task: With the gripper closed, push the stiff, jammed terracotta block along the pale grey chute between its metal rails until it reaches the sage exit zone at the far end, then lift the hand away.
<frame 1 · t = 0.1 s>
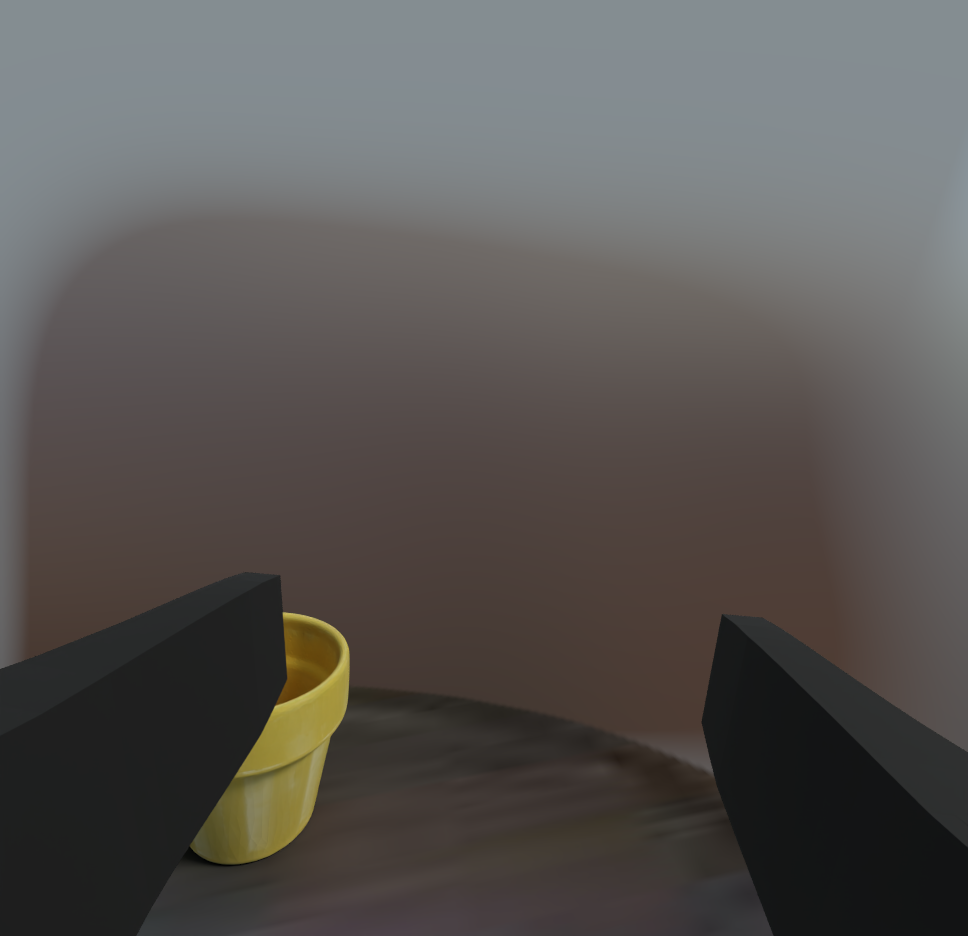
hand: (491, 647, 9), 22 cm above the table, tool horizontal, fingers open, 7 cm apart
plant pot: (254, 814, 32), on the table
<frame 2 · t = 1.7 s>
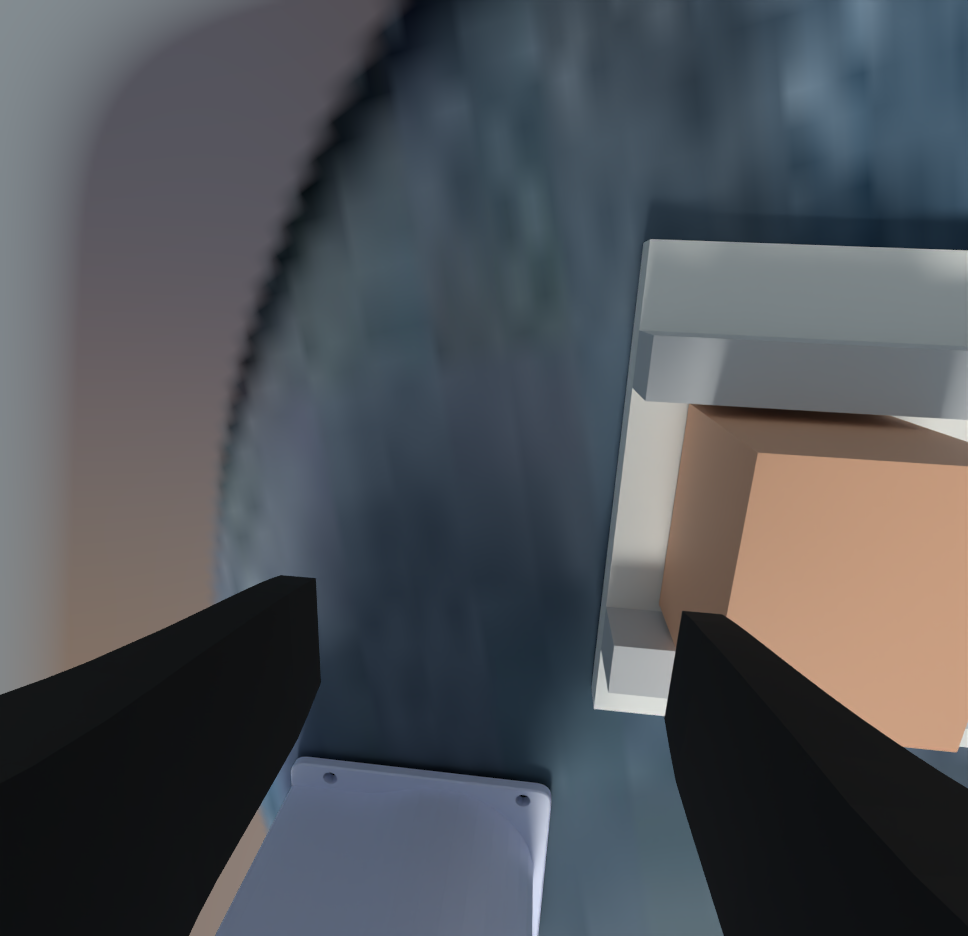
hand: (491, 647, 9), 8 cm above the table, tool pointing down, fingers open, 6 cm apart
block: (805, 555, 13), point 4 cm above the table, slide at 0.0 cm
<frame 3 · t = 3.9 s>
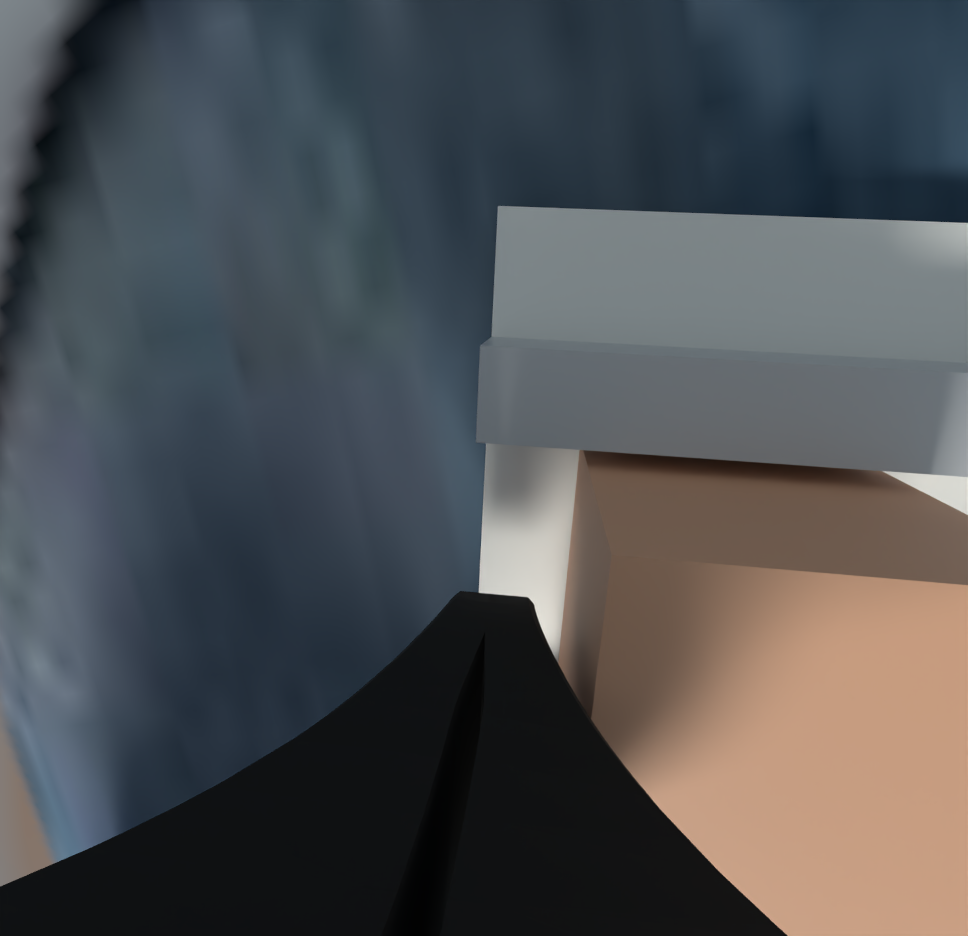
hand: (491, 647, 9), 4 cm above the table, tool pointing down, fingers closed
chute: (955, 592, 12), on the table
block: (731, 672, 9), point 4 cm above the table, slide at 0.3 cm, touching gripper
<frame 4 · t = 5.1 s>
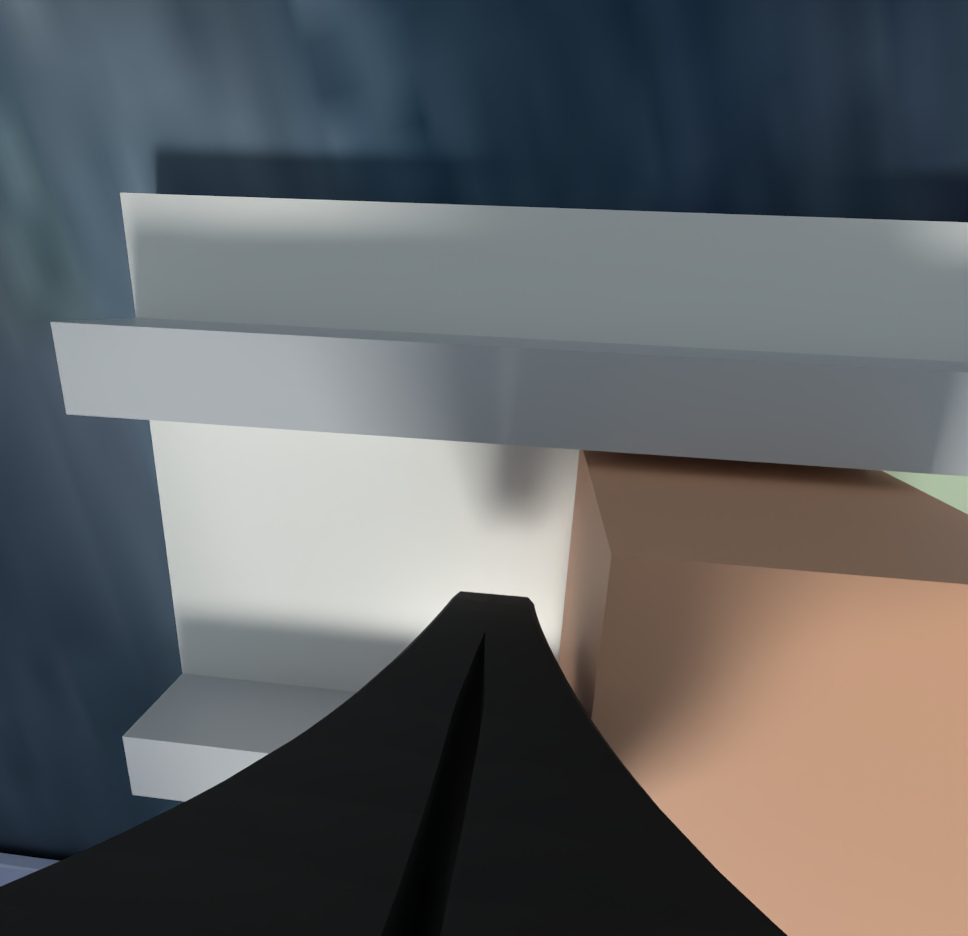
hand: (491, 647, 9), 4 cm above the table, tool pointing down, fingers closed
chute: (624, 563, 12), on the table
block: (731, 672, 9), point 4 cm above the table, slide at 7.2 cm, touching gripper
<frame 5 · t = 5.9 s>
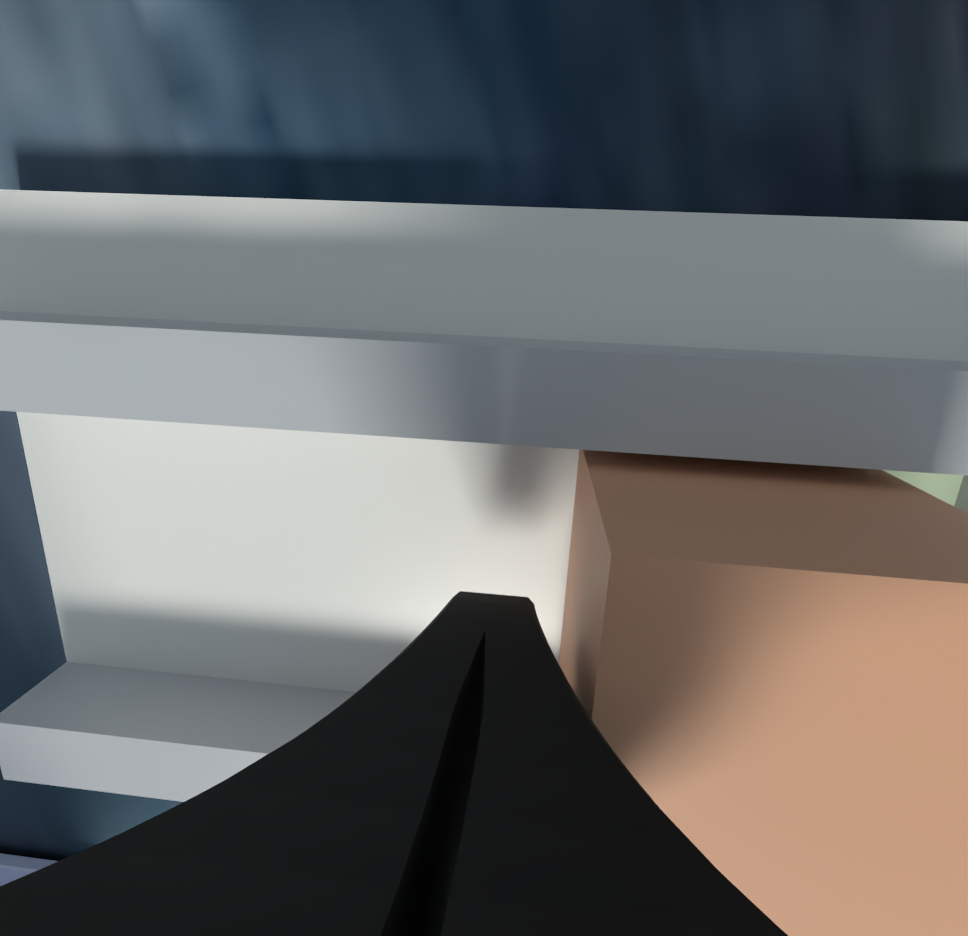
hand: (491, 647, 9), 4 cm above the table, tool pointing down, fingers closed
chute: (492, 552, 13), on the table
block: (732, 671, 9), point 4 cm above the table, slide at 10.1 cm, touching gripper
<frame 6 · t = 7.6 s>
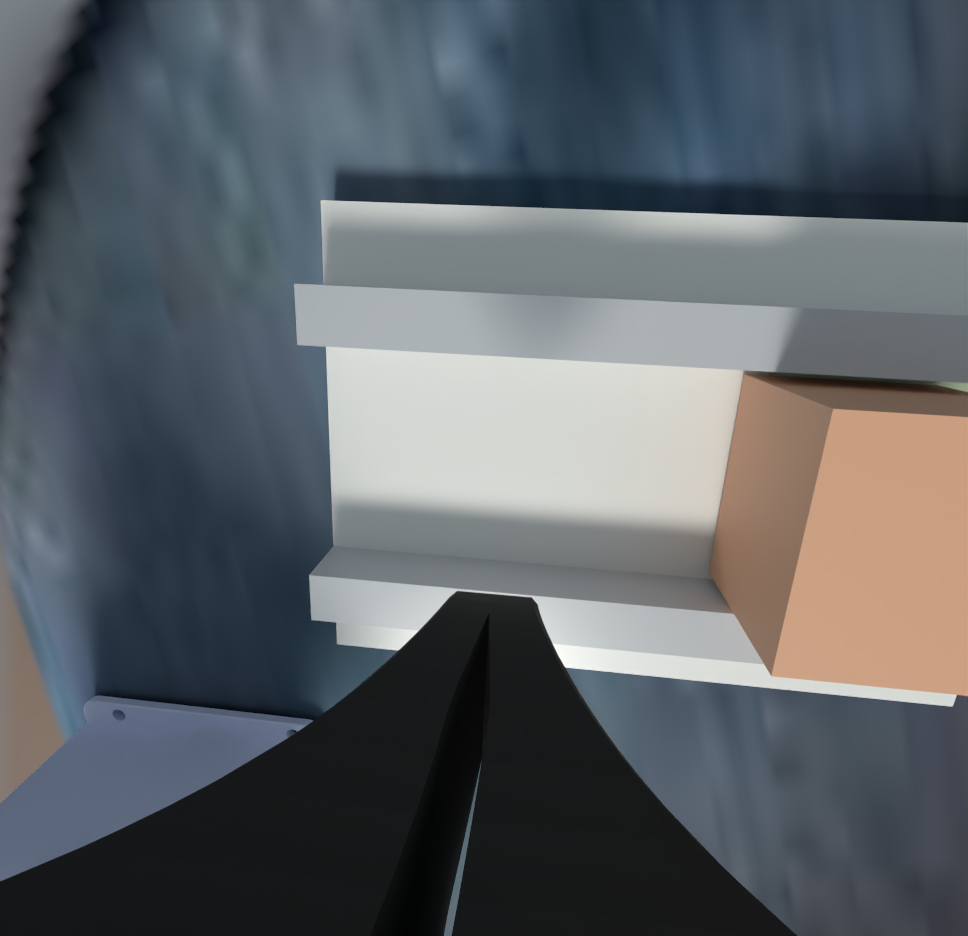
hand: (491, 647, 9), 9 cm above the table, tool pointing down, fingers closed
chute: (654, 462, 18), on the table
block: (862, 517, 14), point 4 cm above the table, slide at 10.3 cm
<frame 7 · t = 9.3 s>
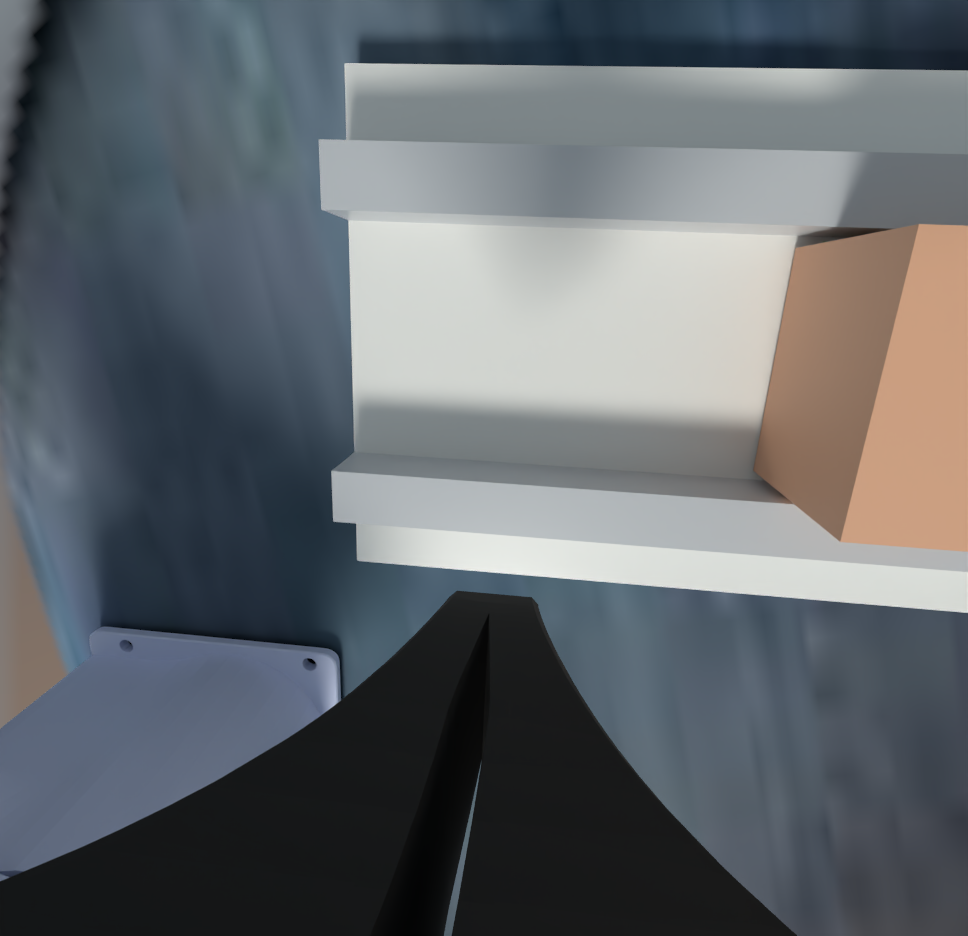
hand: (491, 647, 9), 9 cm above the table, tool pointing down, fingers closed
chute: (694, 357, 17), on the table
block: (930, 384, 13), point 4 cm above the table, slide at 10.3 cm
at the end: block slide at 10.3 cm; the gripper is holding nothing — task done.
